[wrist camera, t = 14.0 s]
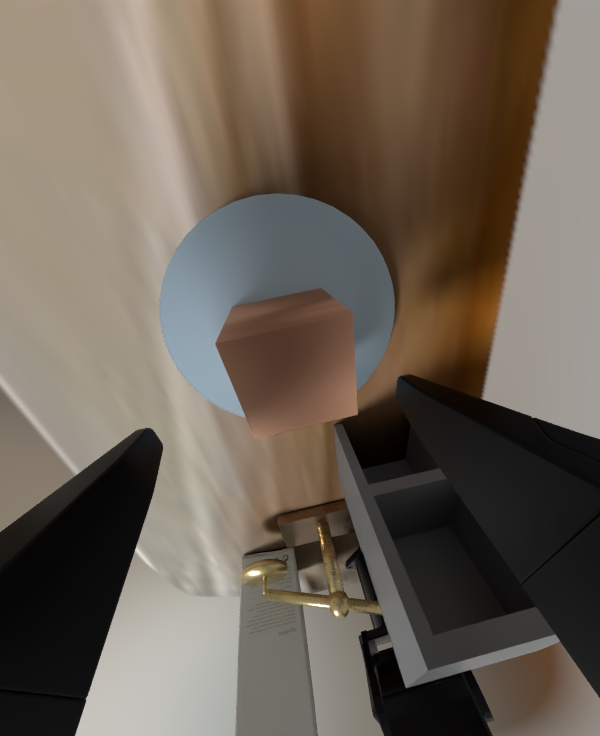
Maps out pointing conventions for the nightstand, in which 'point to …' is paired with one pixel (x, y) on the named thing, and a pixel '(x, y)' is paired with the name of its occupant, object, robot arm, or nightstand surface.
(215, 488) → the nightstand surface
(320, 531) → the balance
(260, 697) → the skincare box
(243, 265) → the dish
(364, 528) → the covering hood
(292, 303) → the block
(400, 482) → the empty hood
